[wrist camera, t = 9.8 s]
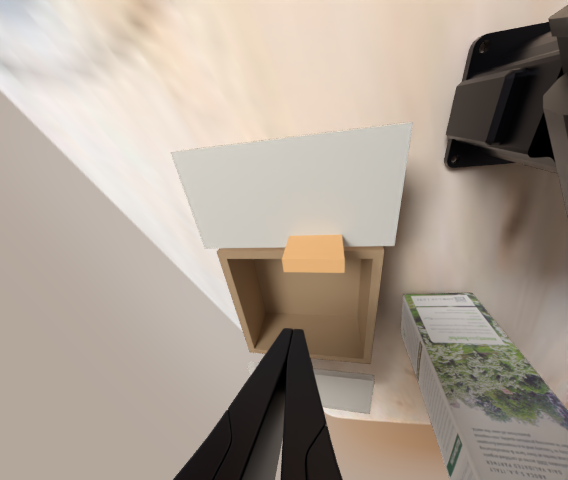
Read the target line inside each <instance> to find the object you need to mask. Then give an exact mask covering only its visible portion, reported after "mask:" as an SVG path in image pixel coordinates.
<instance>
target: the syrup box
mask: <svg viewBox="0 0 568 480" xmlns="http://www.w3.org/2000/svg"><path fill="white" fill-rule="evenodd" d="M401 336H402V339H403V341H404V344H405V347H406V350H407V352H408V355H409V358H410V360H411V363H412V367H413V369H414V372H415V375H416V378H417V381H418V384H419V387H420V390H421V393H422V396H423V399H424V402H425V405H426V408H427V411H428V414H429V418H430V421H431V424H432V427H433V430H434V433H435V436H436V439H437V442H438V445H439V448H440V451H441V455H442V457H443V461H444V464H445V467H446V470H447V473H448V476H449V480H568V410H567V409H566V408H565V406H564V405H563V404H562V403H561V401H560V400H559V399H558V398H557V396H556V395H555V394H554V393H553V391H552V390H551V389H550V388H549V387H548V385H547V384H546V383H545V382H544V380H543V379H542V378H541V377H540V375H539V374H538V373H537V372H536V371H535V369H534V368H533V367H532V366H531V364H530V363H529V362H528V361H527V359H526V358H525V357H524V356H523V355H522V353H521V352H520V351H519V350H518V349H517V347H516V346H515V345H514V344H513V342H512V341H511V340H510V339H509V338H508V336H507V335H506V334H505V333H504V331H503V330H502V329H501V328H500V326H499V325H498V324H497V323H496V322H495V320H494V319H493V318H492V317H491V316H490V314H489V313H488V312H487V311H486V309H485V308H484V307H483V306H482V304H481V303H480V302H479V301H478V299H477V298H476V297H475V296H474V295H473V294H472V293H446V294H445V293H444V294H408V295H403V305H402V321H401Z"/></svg>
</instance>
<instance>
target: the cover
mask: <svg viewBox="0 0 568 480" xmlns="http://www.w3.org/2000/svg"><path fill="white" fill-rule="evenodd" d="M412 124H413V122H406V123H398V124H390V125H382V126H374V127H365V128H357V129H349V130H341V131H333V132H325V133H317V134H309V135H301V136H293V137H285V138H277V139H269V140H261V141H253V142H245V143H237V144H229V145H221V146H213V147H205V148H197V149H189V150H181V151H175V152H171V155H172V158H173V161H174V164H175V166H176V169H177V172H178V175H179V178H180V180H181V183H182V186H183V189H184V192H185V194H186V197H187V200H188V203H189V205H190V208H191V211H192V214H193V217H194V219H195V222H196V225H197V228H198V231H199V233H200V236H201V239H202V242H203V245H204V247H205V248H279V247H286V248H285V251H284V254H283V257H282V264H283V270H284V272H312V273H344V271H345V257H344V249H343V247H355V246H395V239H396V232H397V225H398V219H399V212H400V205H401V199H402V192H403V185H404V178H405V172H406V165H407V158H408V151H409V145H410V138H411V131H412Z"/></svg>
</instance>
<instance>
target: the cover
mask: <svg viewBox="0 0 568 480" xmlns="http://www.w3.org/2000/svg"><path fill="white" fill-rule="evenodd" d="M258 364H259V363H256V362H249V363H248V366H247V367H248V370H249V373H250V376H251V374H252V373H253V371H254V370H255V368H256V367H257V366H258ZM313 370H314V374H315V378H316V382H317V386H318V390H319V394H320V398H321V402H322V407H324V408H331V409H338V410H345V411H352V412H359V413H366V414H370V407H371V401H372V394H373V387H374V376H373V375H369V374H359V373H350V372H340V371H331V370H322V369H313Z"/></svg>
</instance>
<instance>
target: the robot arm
mask: <svg viewBox="0 0 568 480" xmlns="http://www.w3.org/2000/svg"><path fill="white" fill-rule="evenodd" d="M482 42H484V43H485V44H486V48H485V50H484V52H483V53H480V52H479V46H480V44H481V43H482ZM446 135H447V136H448V137H449V140H448V145H447V149H446V153H445V158H444V163H445V165H447V166H449V167H451V168H457V167H470V166H482V165H495V164H507V163H520V164H524V165H527V166H531V167H535V168H539V169H543V170H546V171H550V172H554V173H558V176H559V180H560V185H561V189H562V194H563V198H564V203H565V207H566V212H567V216H568V5H567V6H566V7H564V8H563V9H561V10H560V11H558V12H557V13H555V14H554V15H552V16H551V17H550V18H549V22H546V23H541V24H536V25H530V26H525V27H520V28H515V29H509V30H504V31H499V32H494V33H489V34H486V35H483V36H481V37H479V38H478V39H476V40H475V41H474V42H473V44H472V45H471V47H470V49H469V52H468V57H467V61H466V66H465V70H464V74H463V79H462V82H461V83H460V84H459V85H458V86H457V88H456V92H455V96H454V101H453V105H452V110H451V114H450V119H449V123H448V128H447V132H446ZM454 156H457V160H456V161H455V162H451V160H452V158H453V157H454ZM282 439H283V446H282V464H281V480H343V479H342V476H341V473H340V470H339V467H338V464H337V461H336V457H335V453H334V450H333V446H332V442H331V439H330V434H329V430H328V427H327V423H326V419H325V415H324V411H323V407H322V402H321V398H320V394H319V390H318V386H317V382H316V378H315V374H314V370H313V366H312V362H311V358H310V354H309V350H308V346H307V342H306V338H305V334H304V330H303V329H294V330H293V329H292V328H284V329H283V330H282V331H281V332H280V334H279V335H278V337H277V338H276V340H275V341H274V342H273V344H272V345H271V347H270V348H269V350H268V351H267V353H266V354H265V356H264V357H263V358H262V360H261V361H260V363H259V364H258V366H257V367H256V368H255V370H254V371H253V373H252V374H251V376H250V377H249V379H248V380H247V382H246V383H245V384H244V386H243V387H242V389H241V390H240V392H239V393H238V395H237V396H236V398H235V399H234V400H233V402H232V403H231V405H230V406H229V408H228V410H227V411H226V412H225V413H224V415H223V416H222V418H221V419H220V421H219V422H218V423H217V425H216V426H215V427H214V429H213V430H212V432H211V433H210V434H209V436H208V437H207V438H206V440H205V441H204V442H203V443H202V445H201V446H200V447H199V449H198V450H197V451H196V452H195V453H194V455H193V456H192V457H191V458H190V460H189V461H188V462H187V463H186V465H185V466H184V467H183V468H182V469H181V471H180V472H179V473H178V474H177V475H176V476H175V478H174V479H173V480H275V476H276V471H277V465H278V460H279V454H280V449H281V444H282Z"/></svg>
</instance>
